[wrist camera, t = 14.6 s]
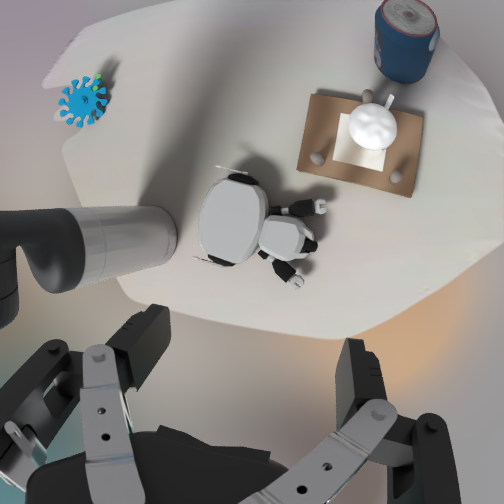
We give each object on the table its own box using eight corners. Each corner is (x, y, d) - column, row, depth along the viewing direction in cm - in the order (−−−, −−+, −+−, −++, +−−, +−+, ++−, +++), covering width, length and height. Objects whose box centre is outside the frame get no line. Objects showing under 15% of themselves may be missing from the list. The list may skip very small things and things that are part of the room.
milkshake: (399, 138, 29) (414, 111, 20) (373, 172, 31) (380, 156, 22) (368, 114, 30) (371, 80, 21) (342, 147, 32) (336, 123, 23)
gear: (86, 137, 46) (48, 111, 40) (91, 133, 50) (56, 109, 45) (121, 89, 44) (82, 62, 38) (123, 89, 48) (88, 64, 43)
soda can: (434, 71, 27) (455, 23, 16) (401, 97, 30) (415, 51, 18) (396, 36, 28) (402, -17, 17) (363, 60, 30) (360, 7, 19)
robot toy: (333, 198, 36) (223, 167, 39) (332, 196, 31) (209, 162, 35) (303, 289, 38) (201, 252, 42) (299, 299, 34) (185, 258, 37)
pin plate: (298, 171, 36) (290, 165, 31) (313, 93, 33) (307, 79, 29) (409, 198, 31) (416, 195, 27) (421, 116, 29) (428, 104, 25)
